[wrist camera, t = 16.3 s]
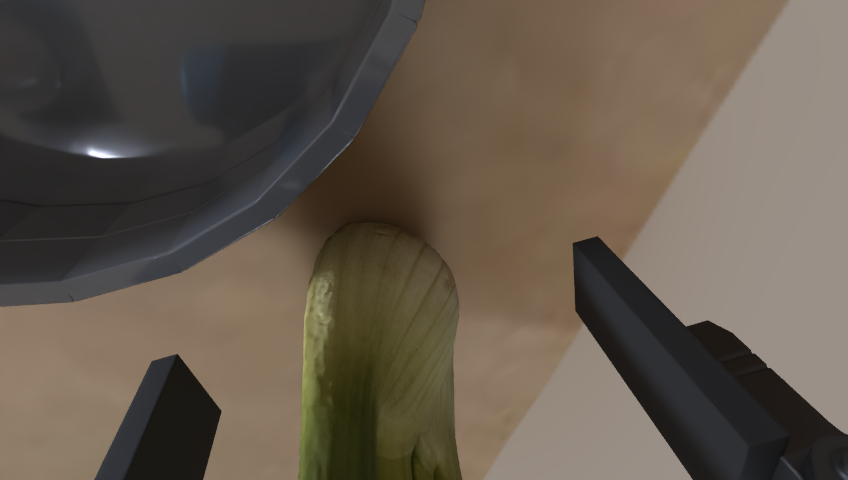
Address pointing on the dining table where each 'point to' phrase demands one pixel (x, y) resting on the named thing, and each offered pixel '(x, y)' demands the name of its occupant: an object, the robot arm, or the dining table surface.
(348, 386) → the fennel bulb
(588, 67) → the dining table surface
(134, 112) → the pan
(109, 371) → the dining table surface
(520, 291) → the dining table surface
